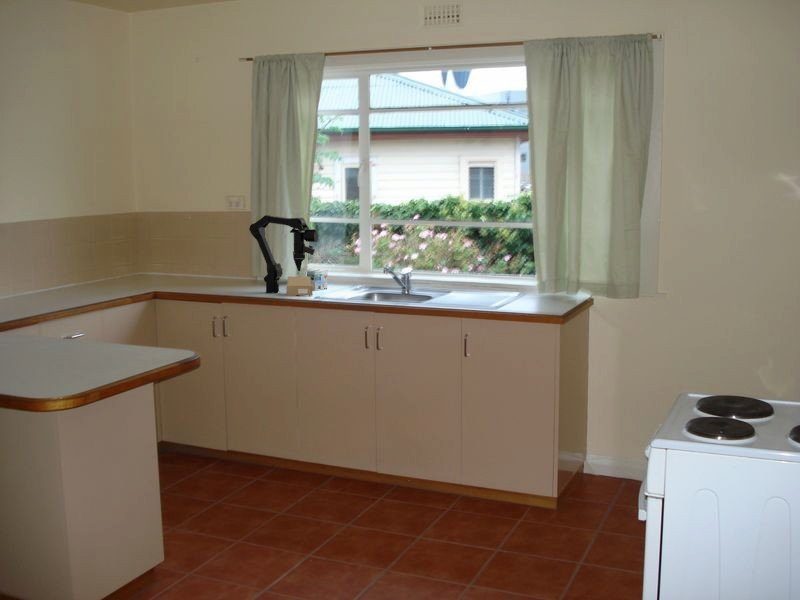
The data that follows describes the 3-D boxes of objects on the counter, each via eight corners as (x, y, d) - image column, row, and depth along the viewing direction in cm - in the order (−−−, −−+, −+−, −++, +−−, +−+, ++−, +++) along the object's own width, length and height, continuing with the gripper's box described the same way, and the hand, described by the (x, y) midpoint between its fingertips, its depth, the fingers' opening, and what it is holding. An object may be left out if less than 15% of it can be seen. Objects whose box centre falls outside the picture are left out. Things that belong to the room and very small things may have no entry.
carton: (285, 296, 463) (285, 286, 462) (285, 293, 473) (285, 283, 473) (312, 296, 465) (312, 286, 464) (311, 293, 475) (311, 283, 474)
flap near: (287, 285, 462) (287, 285, 462) (287, 276, 463) (287, 276, 463) (310, 286, 464) (310, 285, 463) (310, 276, 465) (310, 276, 464)
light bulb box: (315, 290, 485) (315, 271, 484) (306, 289, 489) (306, 270, 488) (327, 289, 494) (328, 270, 492) (319, 287, 498) (319, 269, 496)
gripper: (314, 242, 458) (314, 272, 460) (313, 240, 476) (313, 268, 479) (293, 242, 457) (293, 272, 459) (292, 239, 475) (293, 268, 477)
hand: (299, 270), depth 468 cm, fingers open, 6 cm apart
